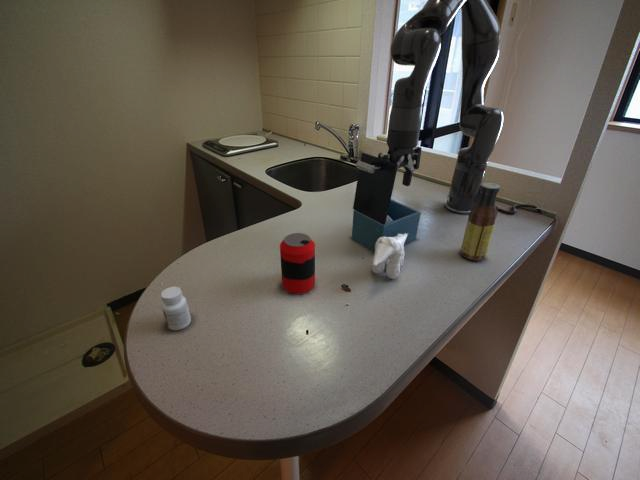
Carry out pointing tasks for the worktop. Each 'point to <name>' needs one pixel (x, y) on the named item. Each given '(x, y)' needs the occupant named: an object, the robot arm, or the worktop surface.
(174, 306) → the pill bottle
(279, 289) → the worktop surface
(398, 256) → the dinosaur statue
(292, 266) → the soda can
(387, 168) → the black box lid
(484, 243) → the sauce bottle
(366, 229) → the blue box
